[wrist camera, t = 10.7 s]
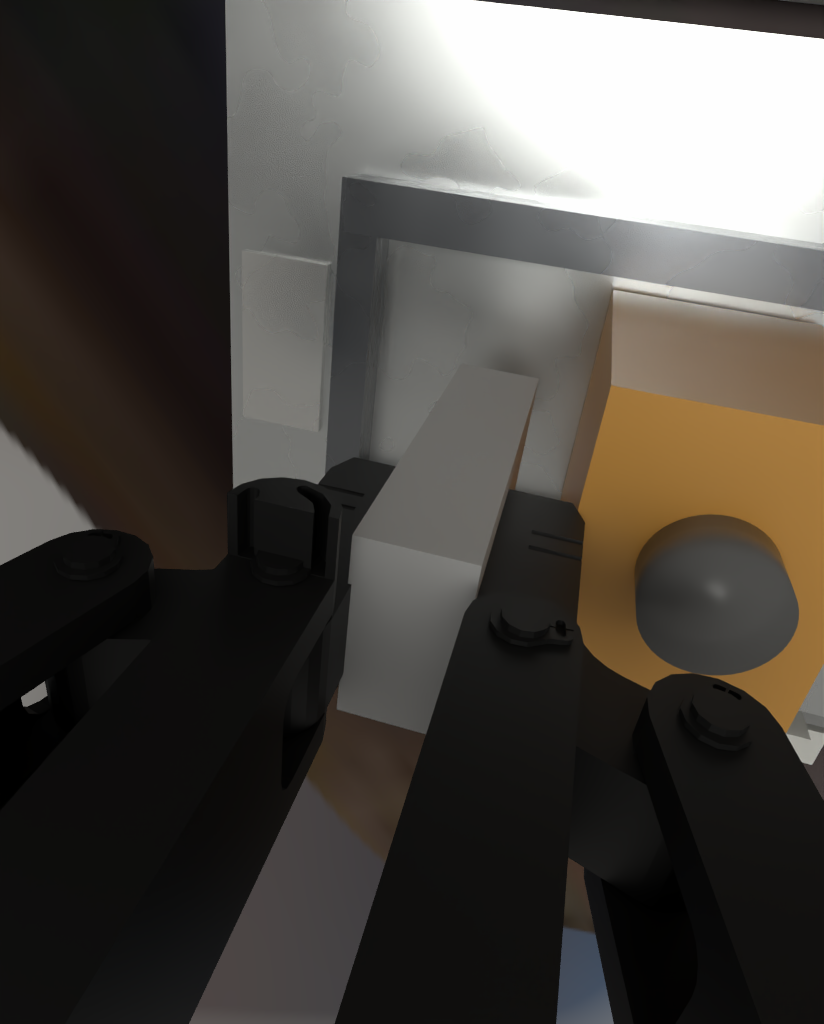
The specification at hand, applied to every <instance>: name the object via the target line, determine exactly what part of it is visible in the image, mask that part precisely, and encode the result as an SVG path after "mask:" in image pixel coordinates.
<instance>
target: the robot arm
mask: <svg viewBox="0 0 824 1024" xmlns="http://www.w3.org/2000/svg"><path fill="white" fill-rule="evenodd" d="M538 381H539V378H533V377H528V376H523V375H518V374H513V373H508V372H503V371H498V370H493V369H488V368H482V367H477V366H472V365H467V364H461V365H460V367H459V368H458V370H457V371H456V373H455V375H454V376H453V378H452V379H451V381H450V382H449V384H448V386H447V387H446V389H445V390H444V392H443V393H442V395H441V397H440V398H439V400H438V401H437V403H436V404H435V406H434V408H433V409H432V411H431V412H430V414H429V415H428V417H427V419H426V420H425V422H424V423H423V425H422V426H421V428H420V429H419V431H418V433H417V434H416V436H415V437H414V439H413V440H412V442H411V444H410V445H409V447H408V448H407V450H406V451H405V453H404V455H403V456H402V458H401V459H400V461H399V462H398V464H397V466H392V465H388V464H383V463H379V462H374V461H370V460H365V459H361V458H356V457H353V458H351V459H349V460H347V461H344V462H342V463H340V464H338V465H336V466H334V467H331V468H330V469H329V471H328V472H327V473H326V474H325V476H324V477H323V478H322V479H321V480H320V482H319V483H318V484H315V483H312V482H309V481H306V480H301V479H293V478H286V477H277V478H261V479H257V480H254V481H250V482H246V483H243V484H240V485H239V486H237V487H235V488H234V489H232V490H231V491H229V492H227V519H228V555H227V556H226V557H225V558H224V559H223V560H222V561H221V562H220V564H219V565H218V566H217V567H216V568H215V569H212V570H181V569H154V563H153V556H152V553H151V550H150V548H149V545H148V544H146V543H145V542H144V541H142V540H141V539H139V538H138V537H137V536H135V535H131V534H128V533H124V532H121V531H117V530H103V529H92V530H87V531H81V532H74V533H69V534H67V535H64V536H61V537H58V538H56V539H53V540H50V541H48V542H46V543H44V544H42V545H40V546H38V547H36V548H34V549H32V550H30V551H28V552H26V553H24V554H22V555H20V556H18V557H16V558H14V559H12V560H10V561H8V562H6V563H4V564H2V565H0V1024H189V1022H190V1020H191V1018H192V1016H193V1014H194V1012H195V1009H196V1007H197V1005H198V1003H199V1001H200V999H201V997H202V995H203V992H204V990H205V988H206V986H207V984H208V982H209V980H210V978H211V976H212V973H213V971H214V969H215V967H216V965H217V963H218V961H219V959H220V956H221V954H222V952H223V950H224V948H225V946H226V944H227V942H228V940H229V937H230V935H231V933H232V931H233V929H234V927H235V925H236V923H237V920H238V918H239V916H240V914H241V912H242V910H243V908H244V906H245V904H246V901H247V899H248V897H249V895H250V893H251V891H252V889H253V887H254V885H255V882H256V880H257V878H258V876H259V874H260V872H261V869H262V867H263V865H264V863H265V861H266V859H267V857H268V855H269V853H270V850H271V848H272V846H273V844H274V842H275V840H276V838H277V836H278V834H279V832H280V829H281V827H282V825H283V823H284V821H285V819H286V817H287V815H288V812H289V810H290V808H291V806H292V804H293V802H294V800H295V798H296V796H297V793H298V791H299V789H300V787H301V785H302V783H303V781H304V779H305V776H306V774H307V772H308V770H309V768H310V766H311V764H312V762H313V760H314V757H315V755H316V753H317V751H318V749H319V747H320V745H321V743H322V740H323V735H324V730H325V724H326V712H327V706H328V704H329V702H330V700H331V698H332V696H333V694H334V692H335V690H336V688H337V686H338V684H339V691H338V702H337V709H338V710H341V711H345V712H348V713H352V714H355V715H359V716H363V717H366V718H370V719H373V720H377V721H380V722H384V723H388V724H391V725H395V726H398V727H402V728H405V729H409V730H412V731H416V732H420V733H423V734H426V736H425V739H424V743H423V746H422V749H421V752H420V755H419V758H418V762H417V765H416V768H415V771H414V774H413V777H412V781H411V784H410V787H409V790H408V793H407V796H406V800H405V803H404V806H403V809H402V812H401V815H400V819H399V822H398V825H397V828H396V831H395V834H394V838H393V841H392V844H391V847H390V850H389V853H388V857H387V860H386V863H385V866H384V869H383V872H382V876H381V879H380V882H379V885H378V889H377V891H376V895H375V898H374V901H373V904H372V907H371V910H370V914H369V917H368V920H367V923H366V926H365V929H364V933H363V936H362V939H361V942H360V945H359V949H358V952H357V955H356V958H355V961H354V964H353V967H352V971H351V974H350V977H349V980H348V983H347V986H346V990H345V993H344V996H343V999H342V1002H341V1005H340V1009H339V1012H338V1015H337V1018H336V1021H335V1024H556V1016H557V1003H558V989H559V976H560V962H561V948H562V933H563V920H564V906H565V892H566V878H567V864H568V857H569V858H570V859H572V860H573V861H575V862H577V863H578V864H580V865H581V866H583V867H584V880H585V885H586V890H587V895H588V900H589V905H590V910H591V914H592V919H593V924H594V929H595V934H596V939H597V944H598V948H599V953H600V958H601V963H602V968H603V973H604V977H605V982H606V987H607V992H608V997H609V1001H610V1007H611V1012H612V1016H613V1021H614V1024H824V801H823V799H822V797H821V795H820V794H819V792H818V790H817V788H816V787H815V785H814V783H813V781H812V780H811V778H810V776H809V774H808V772H807V771H806V769H805V767H804V765H803V764H802V762H801V760H800V758H799V757H798V755H797V753H796V751H795V749H794V748H793V746H792V744H791V742H790V741H789V739H788V737H787V735H786V733H785V732H784V730H783V728H782V727H781V725H780V724H779V723H778V722H777V720H776V719H775V718H774V717H773V715H772V714H771V713H770V712H769V710H768V709H767V708H766V707H765V706H764V705H762V704H761V703H760V702H758V701H757V700H756V699H754V698H753V697H752V696H750V695H749V694H748V693H746V692H745V691H744V690H742V689H739V688H737V687H735V686H733V685H731V684H729V683H727V682H725V681H722V680H720V679H717V678H713V677H708V676H704V675H700V674H695V673H686V674H671V675H669V676H667V677H665V678H663V679H661V680H659V681H656V682H655V683H654V685H653V687H652V689H651V690H649V689H647V688H645V687H643V686H641V685H639V684H637V683H635V682H633V681H631V680H629V679H627V678H625V677H623V676H621V675H620V674H618V673H616V672H615V671H613V670H611V669H610V668H608V667H607V666H605V665H604V664H603V663H602V662H600V661H599V660H598V659H597V658H596V657H594V656H593V654H592V653H591V652H590V651H589V650H588V648H587V647H586V646H585V645H584V643H583V638H582V634H581V629H580V626H579V625H578V624H577V614H578V602H579V590H580V578H581V566H582V561H581V560H582V554H583V542H584V530H585V522H584V520H583V518H582V517H581V515H580V514H579V512H578V510H577V509H576V507H575V506H574V504H573V503H570V502H565V501H561V500H556V499H552V498H547V497H543V496H538V495H534V494H529V493H525V492H520V491H516V490H515V487H516V483H517V478H518V473H519V469H520V464H521V460H522V455H523V450H524V446H525V441H526V437H527V432H528V427H529V423H530V418H531V414H532V409H533V404H534V400H535V395H536V390H537V386H538ZM44 681H45V684H46V690H47V695H48V696H46V697H45V698H43V699H42V700H41V701H39V702H37V703H34V704H32V705H30V706H28V707H23V705H22V700H21V697H22V696H23V695H25V694H26V693H28V692H29V691H31V690H32V689H34V688H35V687H37V686H38V685H40V684H41V683H43V682H44Z"/></svg>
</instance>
